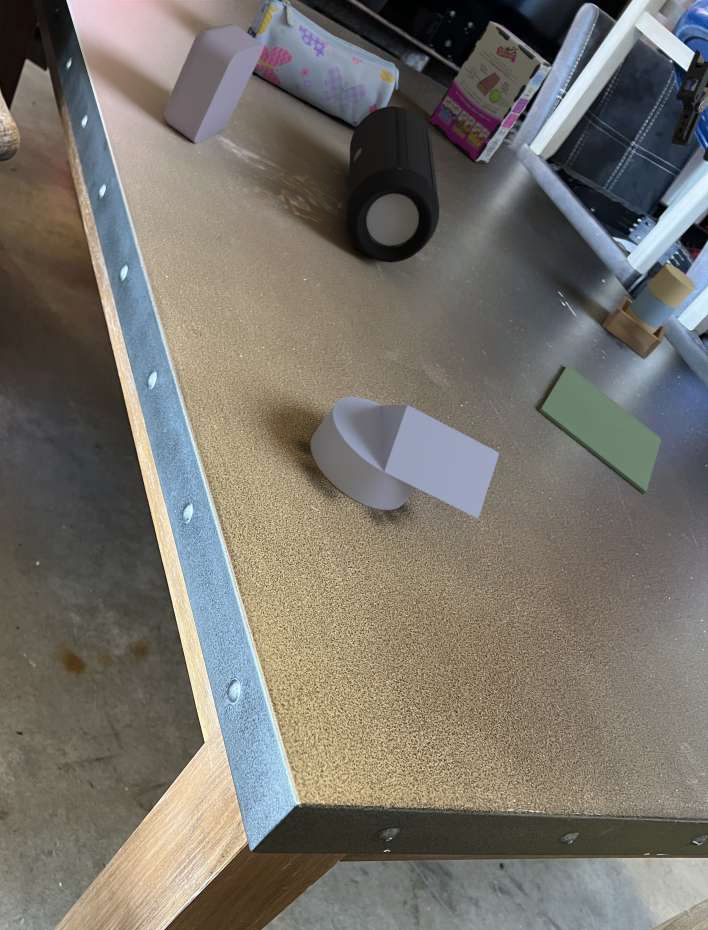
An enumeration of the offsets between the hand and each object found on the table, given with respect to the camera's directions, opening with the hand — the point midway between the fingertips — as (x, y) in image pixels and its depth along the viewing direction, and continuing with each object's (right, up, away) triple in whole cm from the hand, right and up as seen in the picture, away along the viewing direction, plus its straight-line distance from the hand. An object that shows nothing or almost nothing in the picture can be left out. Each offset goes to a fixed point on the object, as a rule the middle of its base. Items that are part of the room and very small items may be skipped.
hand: (695, 153), depth 122 cm
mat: (-17, -37, -15) cm, 44 cm away
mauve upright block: (-63, -5, -17) cm, 65 cm away
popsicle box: (-23, +17, +34) cm, 45 cm away
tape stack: (-4, -20, +11) cm, 23 cm away
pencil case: (-50, +12, +9) cm, 52 cm away
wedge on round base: (-46, -47, -45) cm, 80 cm away
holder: (-4, -20, +11) cm, 23 cm away
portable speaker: (-43, -12, -9) cm, 45 cm away
